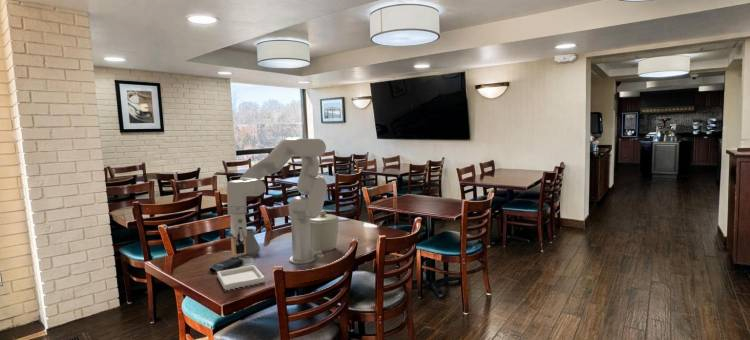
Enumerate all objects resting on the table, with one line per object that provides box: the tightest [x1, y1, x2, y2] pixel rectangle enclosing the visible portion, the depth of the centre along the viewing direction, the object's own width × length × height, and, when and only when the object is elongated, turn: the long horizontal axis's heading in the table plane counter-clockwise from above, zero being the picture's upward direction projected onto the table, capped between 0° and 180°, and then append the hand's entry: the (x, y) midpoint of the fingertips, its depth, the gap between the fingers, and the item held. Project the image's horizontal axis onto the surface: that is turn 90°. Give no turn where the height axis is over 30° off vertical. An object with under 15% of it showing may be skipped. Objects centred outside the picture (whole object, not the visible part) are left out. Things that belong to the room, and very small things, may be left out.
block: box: [230, 235, 246, 257], centre depth 172 cm, size 5×5×7 cm
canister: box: [310, 209, 341, 253], centre depth 215 cm, size 18×18×21 cm
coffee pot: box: [240, 220, 274, 258], centre depth 212 cm, size 21×12×15 cm, turn 143°
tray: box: [216, 264, 266, 292], centre depth 173 cm, size 16×18×2 cm
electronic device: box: [209, 256, 245, 274], centre depth 189 cm, size 9×6×15 cm
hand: (238, 251), depth 172 cm, fingers closed on block, 5 cm apart
